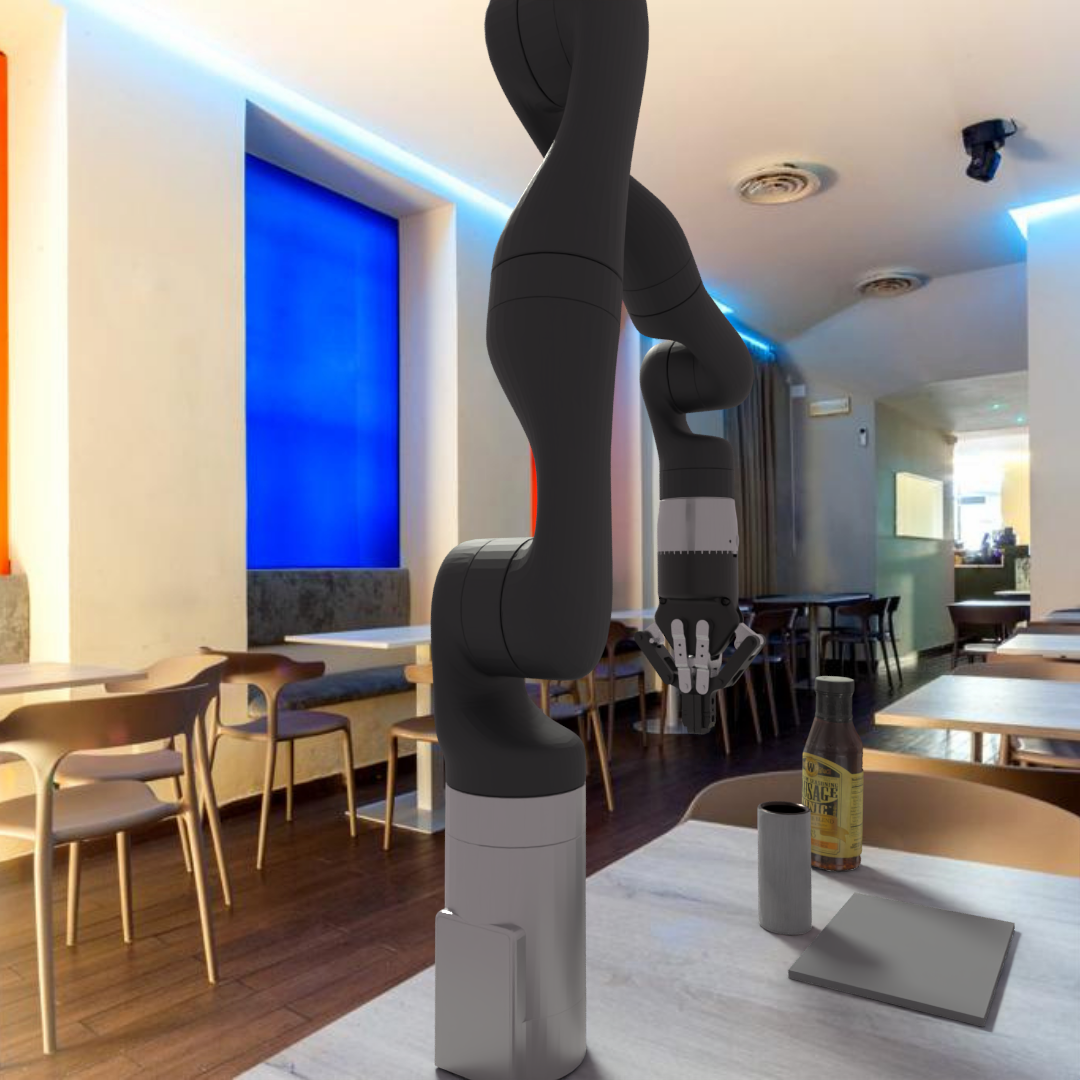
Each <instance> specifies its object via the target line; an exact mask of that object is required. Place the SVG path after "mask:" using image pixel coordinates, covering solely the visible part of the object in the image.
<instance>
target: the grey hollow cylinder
mask: <svg viewBox="0 0 1080 1080" xmlns="http://www.w3.org/2000/svg"><path fill="white" fill-rule="evenodd" d="M757 879H758V880H757V887H758V889H757V891H758V895H757V897H758V898H757V899H758V906H757V907H758V908H757V909H758V910H757V911H758V915H757V916H758V923H759V925H760V927H762V928H763V929H764V930H766V931H769V932H771V933H775V934H780V935H786V936H792V935H793V936H798V935H803V934H806V933H808V932H810V931H811V930H812V928H813V927H812V923H813V921H812V920H813V914H812V913H813V912H812V911H813V907H812V901H813V900H812V897H813V896H812V893H813V892H812V866H811V811H810V809H809V808H808V807H807V806H805V805H802V803H800V802H799V803H797V802H794V801H783V800H769V801H764V802H761V803H759V804H758V806H757Z"/></svg>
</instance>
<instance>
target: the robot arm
mask: <svg viewBox="0 0 1080 1080" xmlns="http://www.w3.org/2000/svg"><path fill="white" fill-rule="evenodd" d="M648 11H649V10H648V1H647V0H489V1H488V3H487V6H486V10H485V12H484V14H485V15H484V23H483V25H484V26H483V29H484V30H483V31H484V40H485V45H486V51H487V54H488V57H489V61H490V65H491V67H492V69H493V73H494V74H495V77H496V79H497V81H498V84H499V85H500V87H501V91H502V92H503V94H504V96H505V97H506V99H507V102H508V103H509V105H510V107H511V108H512V110H513V112H514V114H515V115H516V117H517V118H518V119H519V121H520V124H522V126H523V127H524V130H525V131H526V133H527V134H528V137H530V139H531V141H532V142H533V144H534V146H535V147H536V149H537V150H538V152H539V154H540V155H541V157H542V158H543V160H542V161H541V163H540V165H539V166H538V168H537V169H536V171H535V173H534V175H533V176H532V178H531V180H530V181H529V182H528V184H527V186H526V187H525V190H524V191H523V193H522V194H521V196H520V197H519V199H518V201H517V203H516V204H515V206H514V208H513V210H512V211H511V213H510V215H509V217H508V219H507V221H506V223H505V225H504V227H503V229H502V231H501V234H500V236H499V238H498V240H497V243H496V245H495V249H494V253H493V258H492V264H491V270H490V271H491V272H490V282H489V291H488V292H489V294H488V304H487V313H486V326H485V327H486V328H485V329H486V330H485V342H486V344H485V345H486V349H487V354H488V358H489V360H490V364H491V367H492V368H493V372H494V374H495V376H496V379H497V380H498V382H499V385H500V387H501V389H502V391H503V393H504V394H505V396H506V398H507V400H508V402H509V404H510V406H511V408H512V409H513V412H514V414H515V415H516V417H517V420H518V421H519V423H520V425H521V427H522V429H523V432H524V434H525V435H526V437H527V440H528V444H529V446H530V449H531V454H532V456H533V460H534V465H535V475H536V517H535V529H534V532H533V536H527V537H526V536H524V537H523V536H522V537H521V536H519V537H494V538H493V537H492V538H491V537H489V538H476V539H470V540H466V541H463V542H461V543H459V544H458V545H456V546H454V547H453V548H451V550H450V551H449V552H448V553H447V554H446V556H445V557H444V559H443V560H442V562H441V564H440V566H439V568H438V571H437V574H436V576H435V581H434V585H433V588H432V594H431V595H432V596H431V603H430V649H431V650H430V653H431V670H432V687H433V690H432V692H433V714H434V718H433V719H434V727H435V735H436V738H437V742H438V745H439V748H440V750H441V752H442V757H443V759H444V764H445V765H444V769H445V770H444V771H445V774H444V775H445V776H444V777H445V817H444V818H445V821H444V822H445V823H444V824H445V827H444V828H445V829H444V830H445V831H444V836H445V837H444V840H445V841H444V908H442V909H441V910H439V911H437V913H436V915H435V919H434V920H435V924H434V925H435V927H434V929H435V933H434V937H435V939H434V940H435V941H434V943H435V945H434V947H435V948H434V956H435V957H434V976H435V977H434V1066H435V1067H437V1068H440V1069H443V1070H445V1071H448V1072H449V1073H453V1074H454V1075H458V1076H460V1077H461V1078H465V1079H468V1080H560V1079H561V1078H563V1077H566V1076H567V1075H569V1074H570V1073H572V1072H573V1071H574V1070H575V1069H577V1068H578V1067H579V1066H581V1063H582V1062H583V1061H584V1059H585V1057H586V1052H587V889H586V887H587V886H586V885H587V883H586V882H587V880H586V878H587V875H586V874H587V868H586V867H587V866H586V865H587V862H586V861H587V859H586V857H587V853H586V852H587V850H586V848H587V847H586V844H587V843H586V841H587V839H586V838H587V837H586V836H587V835H586V833H587V832H586V828H587V825H586V823H587V816H586V815H587V814H586V813H587V810H586V806H587V800H586V799H587V797H586V794H587V793H586V792H587V791H586V790H587V789H586V788H587V786H586V785H587V782H586V781H587V756H586V755H587V754H586V753H587V752H586V748H585V745H584V742H583V740H582V739H581V737H580V736H579V735H577V733H575V732H574V731H572V730H571V729H569V728H567V727H565V726H563V725H562V724H560V723H559V722H557V721H555V720H553V719H552V718H551V717H549V716H548V715H547V714H545V712H543V711H542V710H541V709H540V708H539V706H537V705H536V703H535V702H534V700H532V698H531V697H530V696H529V694H528V691H527V688H526V682H525V679H531V680H542V681H543V680H545V681H560V682H561V681H563V682H564V681H567V682H568V681H578V680H580V679H583V678H584V677H586V676H587V675H589V674H591V672H592V671H593V670H594V669H595V668H596V666H597V665H598V663H599V662H600V660H601V659H602V656H603V653H604V651H605V647H606V645H607V642H608V637H609V632H610V626H611V620H612V611H613V591H614V590H613V589H614V588H613V587H614V586H613V585H614V583H613V579H614V578H613V573H614V572H613V569H614V568H613V566H614V565H613V520H612V518H613V515H612V514H613V513H612V438H613V435H612V434H613V418H614V417H613V416H614V401H615V400H614V398H615V388H616V387H615V385H616V374H617V372H616V371H617V363H618V361H617V360H618V352H619V343H620V335H621V323H622V322H621V321H622V320H621V319H622V307H623V306H622V305H623V304H624V307H625V308H626V311H627V314H628V317H629V319H630V320H631V322H632V324H633V327H634V328H635V329H636V331H638V333H640V334H641V335H643V337H647V338H650V339H656V340H663V342H661V343H656V344H655V345H654V346H652V347H650V349H649V350H647V352H646V353H645V355H644V357H643V360H642V362H641V365H640V369H639V387H640V391H641V396H642V400H643V403H644V406H645V409H646V412H647V415H648V419H649V423H650V425H651V430H652V435H653V437H654V442H655V446H656V451H657V452H656V453H657V457H658V464H659V466H658V467H659V469H658V471H659V474H658V475H659V476H658V477H659V479H658V482H659V483H658V484H659V486H658V487H659V489H658V490H659V492H658V493H659V497H658V499H659V505H658V506H659V507H658V515H657V523H656V539H657V540H656V541H657V542H656V544H657V545H656V546H657V548H656V551H657V552H656V553H657V554H656V555H657V561H656V562H657V595H658V596H657V597H658V606H657V609H656V610H655V612H654V617H653V619H654V621H653V622H652V623H651V624H649V625H648V626H647V627H646V628H645V629H643V630H638V631H636V632H635V633H634V635H633V639H634V641H635V643H636V645H638V647H639V649H640V650H641V652H642V653H643V655H644V656H645V658H646V659H647V661H648V662H649V663H650V664H651V667H652V668H653V669H654V671H655V672H656V674H657V676H659V679H660V680H661V681H662V682H663V684H664V685H670V686H673V687H675V688H676V689H678V690H679V691H680V693H681V694H680V695H681V722H682V725H683V727H686V729H687V733H688V734H693V735H695V734H696V735H697V734H698V735H706V734H708V733H710V732H711V728H713V727H715V725H716V722H717V712H716V710H717V704H716V702H717V698H716V697H717V696H716V695H717V692H718V691H719V690H722V689H725V688H729V687H732V686H734V685H735V684H736V683H737V682H738V680H739V679H740V678H741V676H742V675H744V672H745V671H746V670H747V668H748V667H749V666H750V665H751V663H753V661H754V660H755V658H756V657H757V656H758V654H759V653H761V651H762V649H763V648H764V647H765V645H766V644H767V638H766V637H765V635H764V634H762V633H756V632H755V631H754V630H752V629H751V628H750V627H749V626H747V624H745V623H744V619H745V618H744V615H743V612H742V611H741V609H740V606H739V595H740V593H739V592H740V591H739V545H740V536H739V529H738V527H739V525H738V517H737V510H736V501H735V454H734V448H733V446H732V444H731V442H730V441H729V440H727V439H726V438H723V437H721V436H716V435H715V436H714V435H709V434H708V435H707V434H700V433H694V432H693V431H692V430H691V427H690V426H689V424H688V422H687V414H693V413H702V412H703V413H704V412H713V411H722V410H729V409H733V408H735V407H738V406H739V405H741V404H742V403H743V402H744V401H746V399H747V398H748V396H749V395H750V393H751V391H752V389H753V385H754V374H755V372H754V369H755V368H754V363H753V360H752V356H751V353H750V352H749V348H748V347H747V344H746V342H745V341H744V339H743V338H742V336H741V335H740V333H739V332H738V331H737V329H736V328H735V327H734V326H733V324H732V323H731V322H730V321H729V319H728V318H727V316H726V315H725V314H724V313H723V311H722V310H721V309H720V308H719V305H718V304H717V303H716V301H715V300H714V299H713V298H712V297H711V295H710V294H709V292H708V291H707V289H706V287H705V286H704V282H703V279H702V277H701V274H700V271H699V268H698V265H697V263H696V260H695V257H694V255H693V252H692V249H691V247H690V243H689V241H688V238H687V236H686V234H685V232H684V230H683V228H682V226H681V225H680V222H679V221H678V219H677V218H676V217H675V214H673V212H672V211H671V210H670V209H669V208H668V206H667V205H666V204H665V203H664V202H663V201H662V200H661V199H660V198H658V197H657V196H656V195H655V194H654V193H653V192H651V191H650V190H649V189H648V188H647V187H646V186H645V185H644V184H642V182H640V181H638V180H637V179H636V178H635V177H634V176H632V174H631V170H632V161H633V154H634V149H635V140H636V135H637V129H638V124H639V118H640V112H641V105H642V101H643V95H644V88H645V82H646V75H647V70H648V69H647V67H648V58H649V48H650V44H649V43H650V23H649V12H648ZM664 340H666V341H664ZM735 637H736V638H735ZM734 638H735V640H734ZM665 640H666V641H667V643H668V645H669V646H670V647H671V649H672V651H674V653H673V654H674V657H673V656H672V654H671V653H670V652H669V650H668V649H667V647H666V646H665V644H664V643H665ZM733 640H734V647H735V649H736V650H735V651H734V653H733V654H732V655H731V657H730V658H729V659H728V661H727V662H726V663H725V664H724V666H723V667H722V668H721V666H722V663H723V662H722V661H723V653H724V652H725V650H726V649H727V648H728V646H729V645H730V643H732V641H733Z"/></svg>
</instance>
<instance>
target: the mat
mask: <svg viewBox="0 0 1080 1080" xmlns="http://www.w3.org/2000/svg"><path fill="white" fill-rule="evenodd" d="M1014 929H1015V922H1013V921H1007V920H1002V919H996V918H991V917H986V916H980V915H975V914H970V913H964V912H960V911H954V910H949V909H944V908H940V907H939V908H938V907H934V906H929V905H923V904H918V903H912V902H907V901H903V900H896V899H892V898H891V899H890V898H887V897H880V896H875V895H870V894H865V893H860V892H854V893H852V895H851V896H850V897H849V898H848V900H847V901H846V902H845V903H844V904H843V905H842V907H840V909H838V911H837V913H835V915H834V916H833V917H832V918H831V919H830V921H828V923H827V924H826V925H825V926H824V928H822V930H821V931H820V933H818V934H817V936H816V937H814V939H813V940H812V941H811V943H810V944H809V945H808V946H807V947H806V949H805V950H804V951H803V952H802V953H801V954H800V956H799V957H798V958H796V960H795V961H794V963H792V965H791V966H790V967H789V968H788V969H787V973H788V975H787V977H788V978H789V979H791V980H794V981H795V980H796V981H800V982H803V983H807V984H811V985H815V986H820V987H823V988H828V989H830V990H831V989H832V990H835V991H838V992H842V993H847V994H851V995H856V996H859V997H863V998H867V999H870V1000H875V1001H879V1002H883V1003H886V1004H892V1005H895V1006H899V1007H903V1008H906V1009H911V1010H915V1011H919V1012H923V1013H926V1014H929V1015H930V1014H931V1015H934V1016H939V1017H943V1018H947V1019H951V1020H955V1021H959V1022H962V1023H965V1024H966V1023H967V1024H970V1025H975V1026H978V1027H982V1028H984V1027H985V1025H986V1022H987V1019H988V1015H989V1013H990V1009H991V1006H992V1003H993V999H994V998H995V997H994V996H995V993H996V989H997V986H998V984H999V981H1000V977H1001V974H1002V971H1003V968H1004V965H1005V961H1006V959H1007V956H1008V952H1009V949H1010V947H1011V943H1012V940H1013V937H1012V935H1013V936H1014V933H1015V930H1014ZM1013 932H1014V933H1013ZM1011 939H1012V940H1011ZM1010 942H1011V943H1010Z"/></svg>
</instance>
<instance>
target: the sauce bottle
mask: <svg viewBox="0 0 1080 1080" xmlns="http://www.w3.org/2000/svg"><path fill="white" fill-rule="evenodd" d="M813 689H814V692H815V694H816V696H815V713H814V718H813V722H812V724H811V726H810V727H811V728H810V731H809V733H808V736H807V739H806V742H805V745H804V747H803V751H802V766H801V767H802V768H801V769H802V777H801V804H802V805H805V806H807V807H808V808H809V809H810V811H811V867H813V868H818V869H821V870H825V871H827V872H847V871H850V870H851V871H852V870H855V869H857V868H860V867H859V866H861V862H862V856H861V855H862V852H863V832H864V831H863V828H864V827H863V825H864V823H863V819H864V818H863V816H864V815H863V812H864V810H863V809H864V768H863V767H864V766H863V764H864V760H863V757H864V748H863V747H864V746H863V744H864V743H863V741H862V739H861V737H860V735H859V734H858V732H857V730H856V727H855V724H854V722H853V718H854V715H853V694H854V692H855V679H852V678H850V677H846V676H845V677H844V676H834V675H833V676H832V675H831V676H830V675H829V676H828V675H822V676H821V675H820V676H817V677H815V679H814V687H813Z"/></svg>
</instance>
